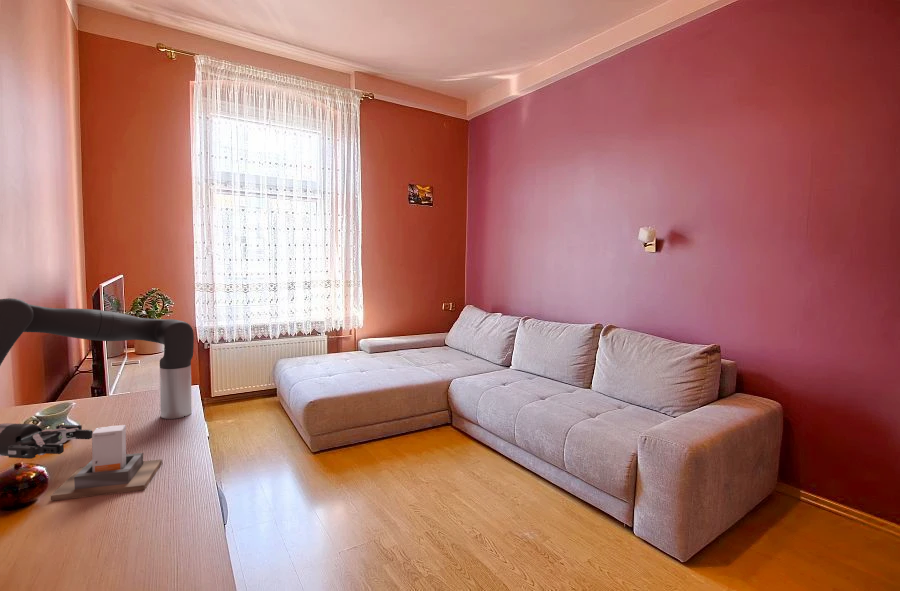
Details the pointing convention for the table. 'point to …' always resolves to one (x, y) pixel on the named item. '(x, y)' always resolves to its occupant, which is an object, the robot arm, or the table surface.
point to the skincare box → (109, 448)
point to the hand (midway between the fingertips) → (77, 441)
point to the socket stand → (109, 479)
